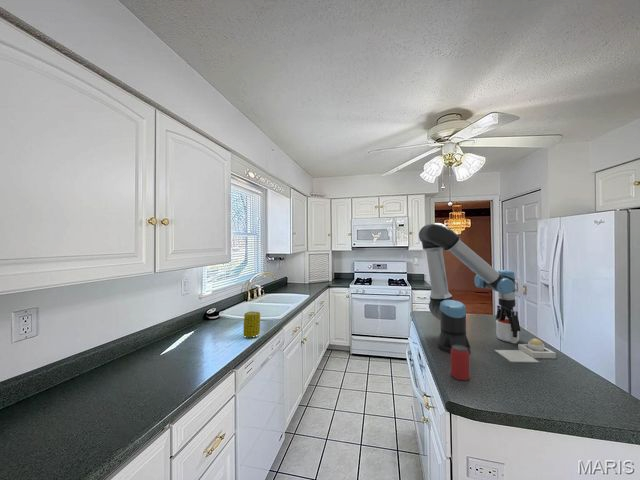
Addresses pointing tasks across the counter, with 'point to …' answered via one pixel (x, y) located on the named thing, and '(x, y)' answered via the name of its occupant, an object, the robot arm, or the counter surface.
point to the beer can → (460, 362)
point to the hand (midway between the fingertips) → (507, 339)
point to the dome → (535, 345)
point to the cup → (504, 330)
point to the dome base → (537, 352)
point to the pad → (516, 356)
